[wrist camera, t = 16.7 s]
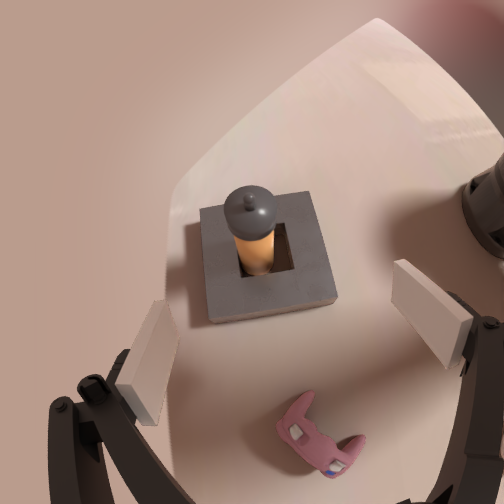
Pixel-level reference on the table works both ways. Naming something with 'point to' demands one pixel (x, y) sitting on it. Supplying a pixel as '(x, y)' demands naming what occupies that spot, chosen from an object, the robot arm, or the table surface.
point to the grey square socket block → (274, 284)
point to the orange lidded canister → (252, 227)
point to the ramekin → (502, 447)
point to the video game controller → (316, 440)
